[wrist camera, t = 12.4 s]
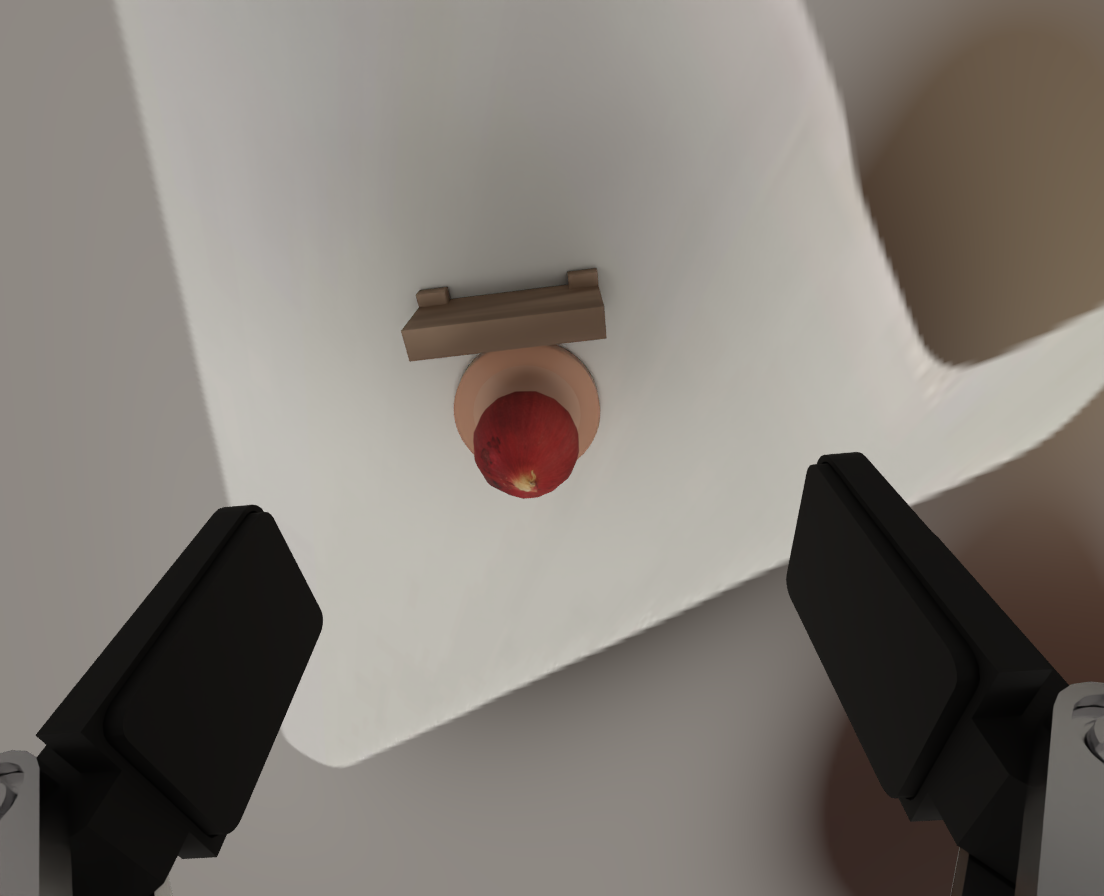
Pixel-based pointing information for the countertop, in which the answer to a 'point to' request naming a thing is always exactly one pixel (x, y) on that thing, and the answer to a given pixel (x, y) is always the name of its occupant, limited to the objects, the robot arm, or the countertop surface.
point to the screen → (506, 319)
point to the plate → (528, 387)
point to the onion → (526, 444)
